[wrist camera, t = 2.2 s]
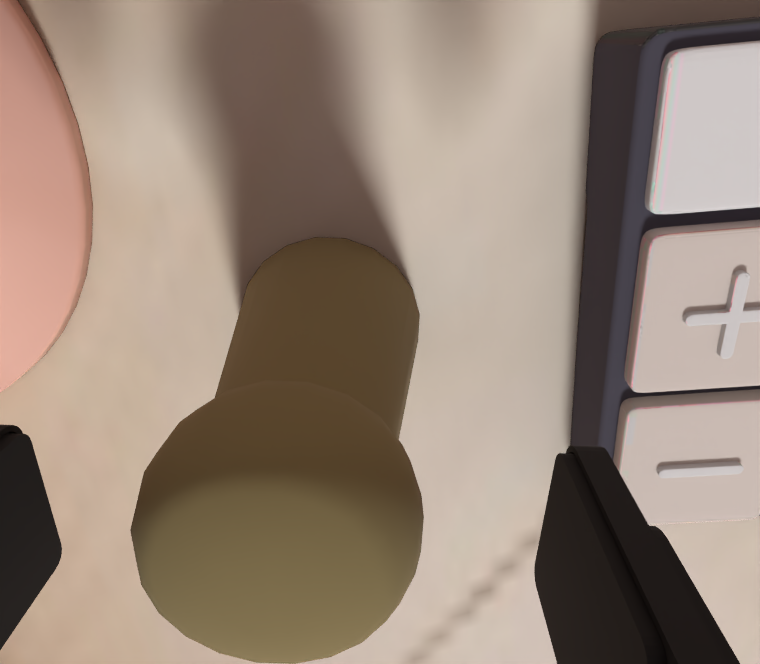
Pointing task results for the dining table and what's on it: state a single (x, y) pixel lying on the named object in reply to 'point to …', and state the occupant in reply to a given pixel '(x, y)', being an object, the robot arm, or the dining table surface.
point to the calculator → (674, 269)
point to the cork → (292, 467)
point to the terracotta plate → (37, 199)
